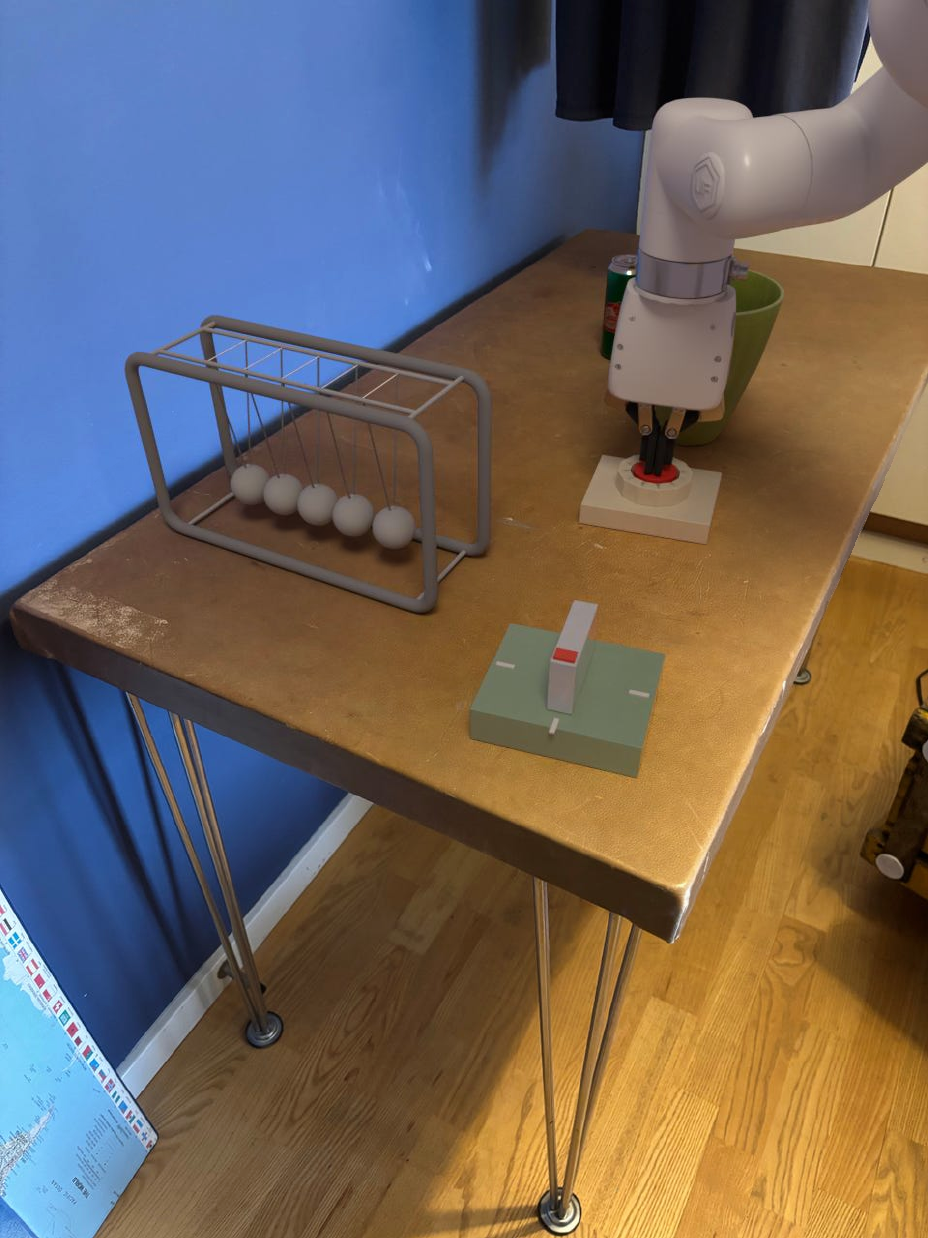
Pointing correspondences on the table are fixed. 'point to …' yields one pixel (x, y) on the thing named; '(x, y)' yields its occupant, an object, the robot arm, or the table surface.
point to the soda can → (615, 296)
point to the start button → (666, 476)
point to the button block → (651, 501)
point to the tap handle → (572, 657)
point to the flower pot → (739, 351)
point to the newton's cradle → (317, 499)
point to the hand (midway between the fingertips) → (654, 468)
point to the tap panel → (603, 714)
